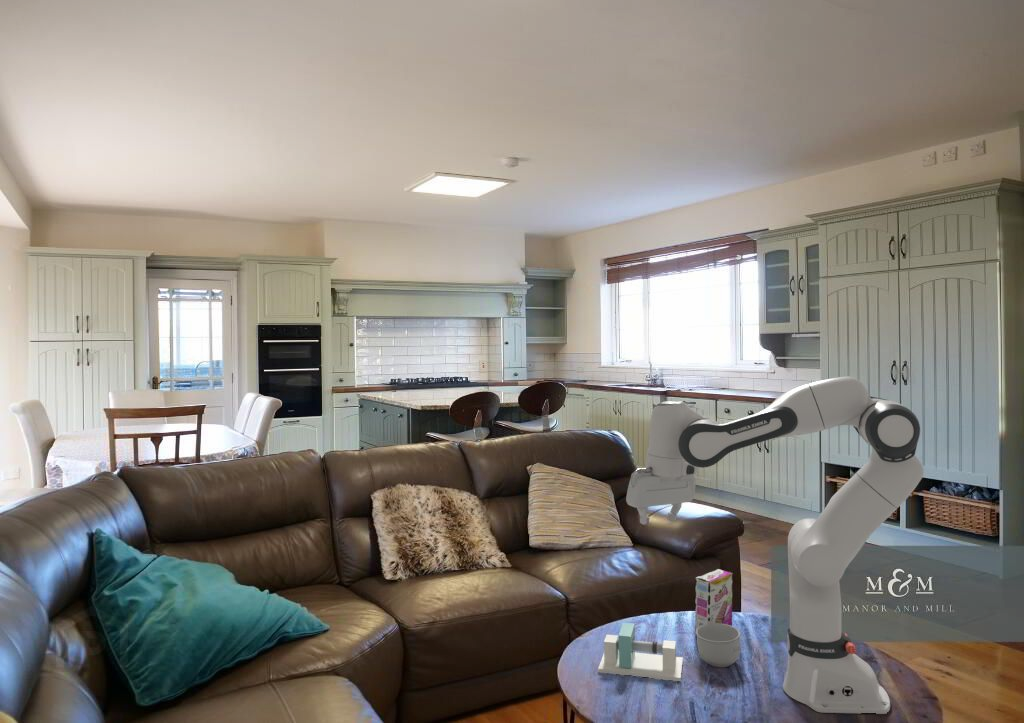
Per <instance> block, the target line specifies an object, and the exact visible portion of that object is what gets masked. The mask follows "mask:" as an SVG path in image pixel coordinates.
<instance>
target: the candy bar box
mask: <svg viewBox="0 0 1024 723" xmlns="http://www.w3.org/2000/svg"><path fill="white" fill-rule="evenodd" d="M694 599H695V601H694V602H695V608H694V609H695V613H694V614H695V616H694V619H695V620H694V621H695V622H694V623H695V627H694V628H695V631H694V633H695V634H694V635H695V636H697V635H696V630H697V629H698V628H699V627H700V626H702V625H706V624H707V622H708V621H713V622H714V623H720V624H727V625H730V626H733V572H731V571H727V570H722V569H719V568H717V569H715V570H712V571H710V572H708V573H705V574H701V575H699V576H696V577H695V598H694Z"/></svg>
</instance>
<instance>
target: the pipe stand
mask: <svg viewBox="0 0 1024 723" xmlns="http://www.w3.org/2000/svg"><path fill="white" fill-rule="evenodd" d="M632 651H635V656H634V660H633V664H632V667H631V668H625V667H619V635H616V634H606V635H605V638H604V640H603V654H602V657H601V660H600V663H599V665H598V667H597V668H598V669H597V670H598V671H597V673H599V674H607V673H612V674H611V675H616V674H621V675H620V676H624V675H635V676H643V677H649V678H648V679H651V678H655V679H654V680H660V679H663V680H662V681H668V680H673V681H672V682H677V681H680V682H682V674H683V666H682V665H684V657H681V656H677V641H676V640H666V639H664V640H663V642H658V641H653V642H652V641H642V640H635V641H634V640H632ZM681 673H682V674H681ZM680 682H679V683H680Z"/></svg>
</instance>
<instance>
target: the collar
mask: <svg viewBox="0 0 1024 723" xmlns="http://www.w3.org/2000/svg"><path fill="white" fill-rule="evenodd" d="M635 626H636V625H635V623H633V622H632V623H631V622H622V624H621V627H620V629H619V634H618V639H619V667H625V668H631V667H632V664H633V660H634V656H635V652H636V651H632V640H634V641H636V631H635V629H636V628H635Z"/></svg>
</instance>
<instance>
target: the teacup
mask: <svg viewBox="0 0 1024 723" xmlns="http://www.w3.org/2000/svg"><path fill="white" fill-rule="evenodd" d="M695 636H696V643H697V645H696V646H697V650H698V651H697V652H698V655H699V657H700V658H701V659H702V660H703V661H704V662H706V664H709V665H710V666H711V667H717V668H726V667H729V666H731V665H733V664H734V663H735V662H737V661H738V660H739V657H740V655H741V632H740V630H739V629H738V628H737V627H735V626H733V625H732V626H730V625H727V624H720V623H714V622H713V621H708V622H707V624H706V625H702V626H700V627H699V628H698V629H697V630H696V635H695Z"/></svg>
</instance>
